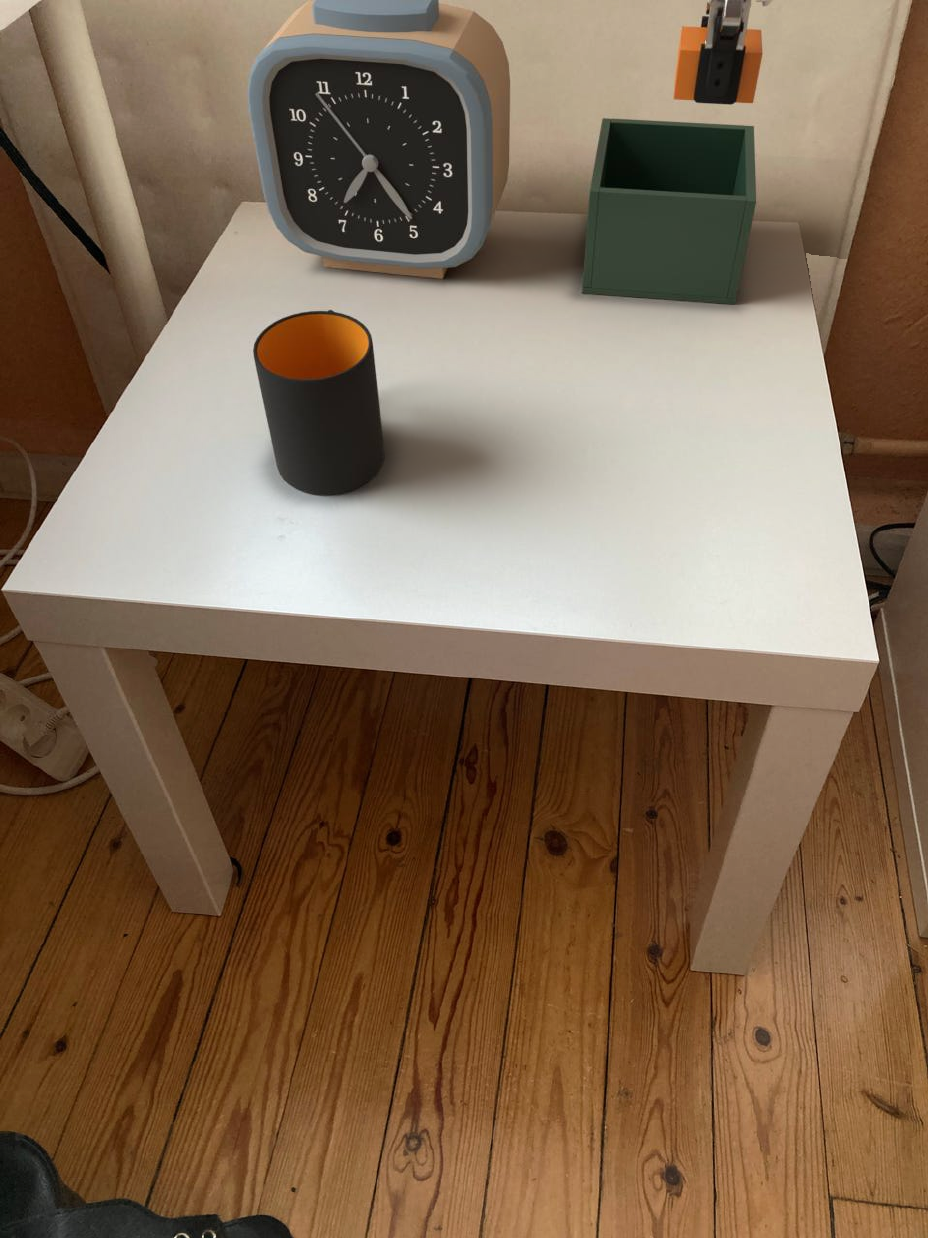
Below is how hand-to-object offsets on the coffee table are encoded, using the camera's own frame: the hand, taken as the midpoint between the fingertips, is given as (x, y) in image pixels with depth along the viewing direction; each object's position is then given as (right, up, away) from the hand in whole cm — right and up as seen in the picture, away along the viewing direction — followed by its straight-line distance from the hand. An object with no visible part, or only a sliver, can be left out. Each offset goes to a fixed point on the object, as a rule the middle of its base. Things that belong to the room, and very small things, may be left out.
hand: (714, 84), depth 79 cm
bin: (-1, -8, +17) cm, 18 cm away
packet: (0, 0, 0) cm, 0 cm away
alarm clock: (-26, -6, +18) cm, 33 cm away
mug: (-30, -28, +1) cm, 41 cm away
